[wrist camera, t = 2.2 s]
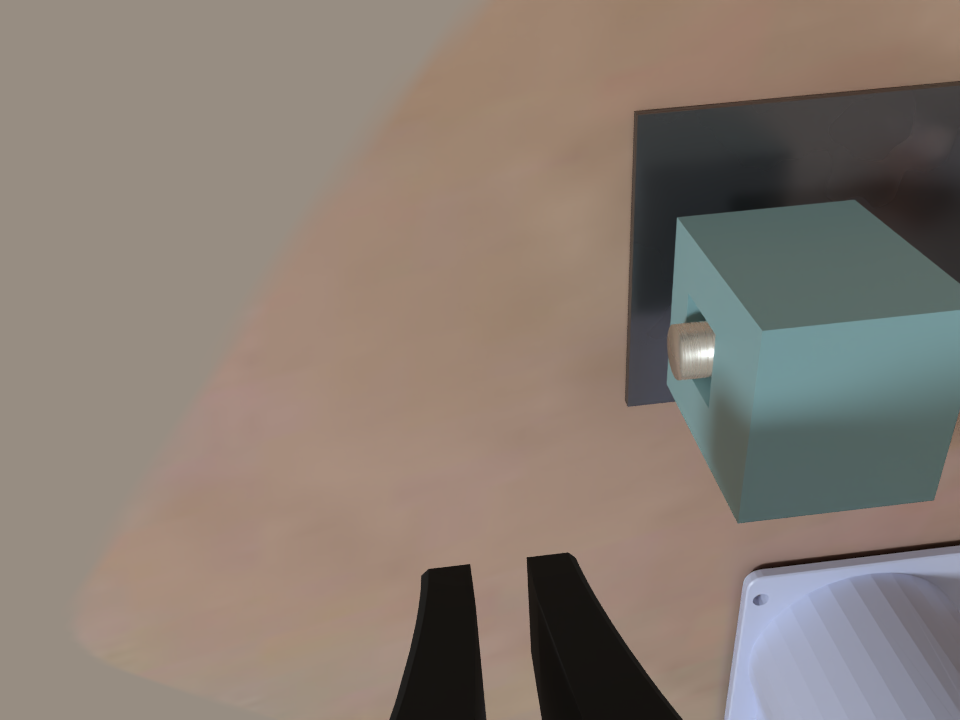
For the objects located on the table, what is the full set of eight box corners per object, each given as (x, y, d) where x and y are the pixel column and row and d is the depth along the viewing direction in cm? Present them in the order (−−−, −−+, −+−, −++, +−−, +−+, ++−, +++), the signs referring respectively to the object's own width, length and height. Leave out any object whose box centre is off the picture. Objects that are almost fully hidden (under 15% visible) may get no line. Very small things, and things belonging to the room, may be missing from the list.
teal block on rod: (825, 366, 22) (934, 500, 17) (666, 384, 21) (737, 523, 17) (854, 199, 19) (988, 306, 15) (677, 217, 19) (762, 330, 15)
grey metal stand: (1008, 358, 25) (1155, 484, 20) (625, 400, 24) (684, 540, 19) (1098, 68, 20) (1311, 142, 16) (634, 111, 20) (713, 202, 15)
